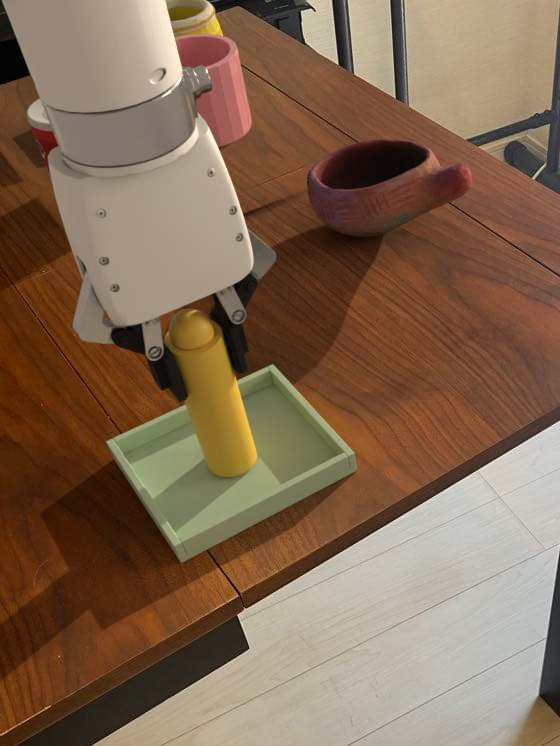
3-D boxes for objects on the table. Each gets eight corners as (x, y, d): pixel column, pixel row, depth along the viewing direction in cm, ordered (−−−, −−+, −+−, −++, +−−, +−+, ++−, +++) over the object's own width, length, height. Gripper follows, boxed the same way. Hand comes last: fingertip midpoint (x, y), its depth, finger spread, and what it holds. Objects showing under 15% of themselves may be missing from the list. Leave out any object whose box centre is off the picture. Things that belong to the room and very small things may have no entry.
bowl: (312, 265, 83) (299, 189, 77) (315, 197, 91) (303, 123, 85) (473, 253, 83) (474, 175, 77) (462, 185, 91) (462, 110, 85)
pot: (188, 163, 97) (166, 82, 90) (151, 130, 103) (128, 51, 96) (268, 134, 101) (253, 54, 94) (228, 103, 106) (211, 25, 99)
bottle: (220, 485, 65) (170, 340, 54) (198, 455, 67) (145, 310, 56) (266, 462, 66) (226, 316, 55) (243, 433, 68) (200, 287, 57)
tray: (181, 563, 61) (173, 546, 59) (113, 458, 68) (105, 441, 66) (357, 470, 66) (354, 452, 64) (277, 381, 73) (272, 363, 71)
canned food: (96, 184, 96) (59, 84, 87) (152, 197, 93) (120, 95, 85) (51, 219, 92) (8, 117, 83) (108, 233, 89) (70, 130, 80)
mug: (249, 71, 112) (229, -33, 102) (183, 102, 107) (156, -4, 98) (191, 47, 118) (167, -53, 108) (126, 76, 113) (95, -26, 104)
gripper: (229, 50, 50) (282, 306, 64) (-50, 140, 45) (76, 397, 59) (290, 93, 46) (332, 356, 60) (-9, 198, 41) (115, 459, 55)
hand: (205, 374), depth 60 cm, fingers closed on bottle, 4 cm apart
